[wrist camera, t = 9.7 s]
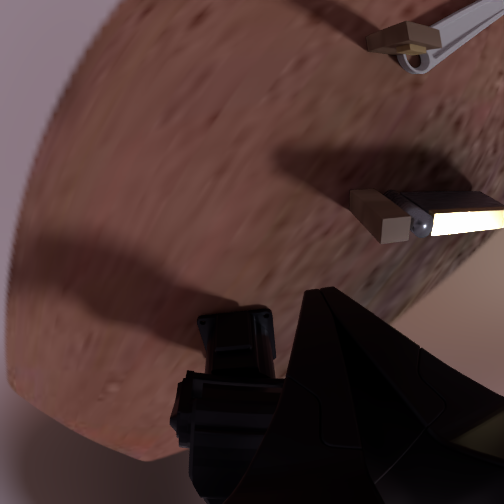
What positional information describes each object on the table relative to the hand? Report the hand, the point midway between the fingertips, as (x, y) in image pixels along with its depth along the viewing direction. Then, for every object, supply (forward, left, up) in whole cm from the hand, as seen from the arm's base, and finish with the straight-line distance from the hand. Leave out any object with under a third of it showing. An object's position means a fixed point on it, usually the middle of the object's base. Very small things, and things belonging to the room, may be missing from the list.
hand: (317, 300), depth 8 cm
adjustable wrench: (+16, -20, -14) cm, 30 cm away
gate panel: (-2, -14, -12) cm, 19 cm away
